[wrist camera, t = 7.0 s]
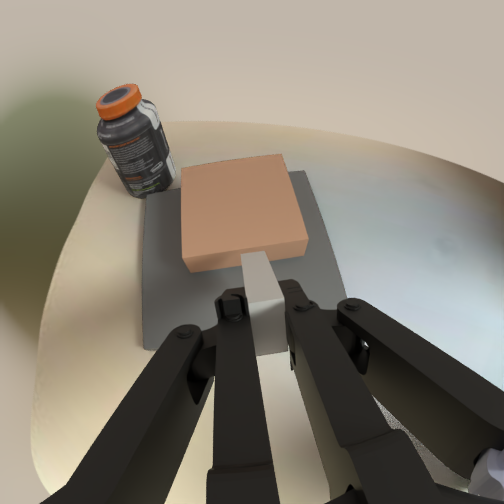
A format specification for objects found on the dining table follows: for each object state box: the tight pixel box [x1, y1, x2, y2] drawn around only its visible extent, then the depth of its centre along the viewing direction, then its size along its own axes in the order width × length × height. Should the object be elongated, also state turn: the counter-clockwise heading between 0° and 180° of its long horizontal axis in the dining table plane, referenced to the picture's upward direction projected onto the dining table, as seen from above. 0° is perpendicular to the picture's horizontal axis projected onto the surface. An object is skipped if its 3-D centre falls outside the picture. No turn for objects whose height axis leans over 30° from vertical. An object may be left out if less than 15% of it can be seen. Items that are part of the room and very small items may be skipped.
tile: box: [181, 154, 309, 273], centre depth 22 cm, size 9×3×9 cm
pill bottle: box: [96, 84, 176, 198], centre depth 23 cm, size 6×6×11 cm
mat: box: [142, 171, 347, 351], centre depth 23 cm, size 16×15×1 cm
